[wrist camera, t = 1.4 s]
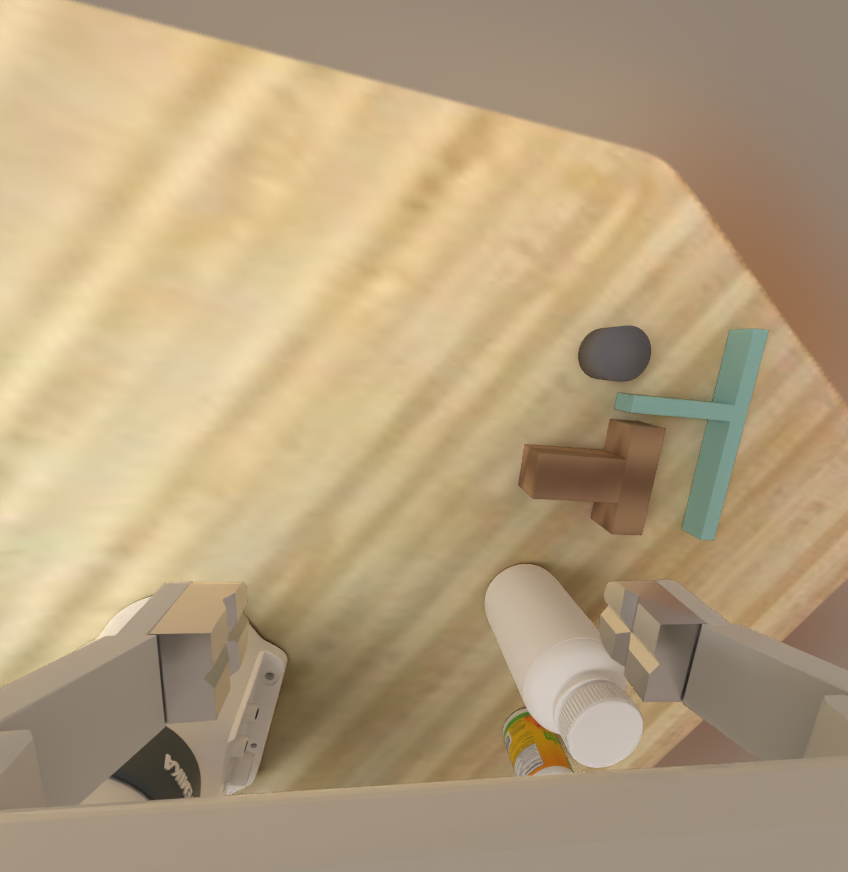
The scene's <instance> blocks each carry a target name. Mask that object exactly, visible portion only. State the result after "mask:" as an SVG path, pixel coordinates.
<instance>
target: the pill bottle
mask: <svg viewBox="0 0 848 872" xmlns="http://www.w3.org/2000/svg"><path fill="white" fill-rule="evenodd" d="M484 606H485V612H486V616H487V619H488V622H489V624H490V626H491V628H492V631H493V633H494V635H495V638H496V640H497V642H498V644H499V647H500V649H501V651H502V654H503V656H504V658H505V660H506V663H507V665H508V667H509V670H510V672H511V674H512V676H513V679H514V681H515V683H516V686H517V688H518V690H519V692H520V695H521V697H522V699H523V702H524V704H525V706H526V708H527V710H528V711H529V713H530V714H531V716H532V717H533V718H534V719H535V720H536V721H537V722H538V723H539V724H540V725H541V726H543V727H544V728H545V729H547V730H549V731H551V732H553V733H556V734H560V735H561V737H562V739H563V741H564V743H565V745H566V747H567V749H568V751H569V753H570V754H571V756H572V757H573V758H574V759H575V760H576V761H577V762H579V763H581V764H582V765H585V766H587V767H592V768H602V767H608V766H611V765H614V764H616V763H618V762H620V761H622V760H623V759H624V758H626V757H627V756H628V755H629V754H630V753H631V752H632V751H633V750H634V749H635V748H636V746H637V745H638V743H639V741H640V739H641V736H642V732H643V719H642V716H641V713H640V711H639V709H638V708H637V706H636V705H635V704H634V702H633V701H632V700H631V699H630V697H629V696H628V695H627V693H626V678H625V676H624V667H623V666H622V665H621V664H619V663H617V662H616V661H614V660H613V659H611V657H610V656H609V654H608V653H607V652H606V650H605V648H604V646H603V644H602V641H601V638H600V632H599V630H598V629H597V628H596V627H595V626H594V624H593V623H592V622H591V621H590V619H589V618H588V617H587V616H586V615H585V613H584V612H583V611H582V610H581V609H580V607H579V606H578V605H577V604H576V603H575V601H574V600H573V599H572V598H571V597H570V595H569V594H568V593H567V592H566V590H565V589H564V588H563V587H562V586H561V584H560V583H559V582H558V581H557V580H556V578H555V577H554V576H553V575H552V574H550V573H549V572H548V571H547V570H545V569H544V568H542V567H539V566H537V565H532V564H519V565H514V566H511V567H509V568H507V569H505V570H503V571H502V572H500V573H499V574H498V575H497V576H496V577H495V578H494V579H493V580H492V582H491V583H490V585H489V587H488V589H487V591H486V595H485V601H484Z"/></svg>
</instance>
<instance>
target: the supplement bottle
mask: <svg viewBox="0 0 848 872" xmlns="http://www.w3.org/2000/svg"><path fill="white" fill-rule="evenodd" d="M503 738H504V741H505V745H506V748H507V751H508V754H509V756H510V759H511V762H512V765H513V768H514V771H515V774H516V777H518V776H533V775H549V774H564V773H574V772H573V769H572V767H571V765H570V763H569V761H568V759H567V757H566V755H565V753H564V751H563V749H562V746H561V744H560V742H559V740H558V738H557V736H556V734H555V733H553V732H551V731H549V730H547V729H545V728H544V727H543V726H541V725H540V724H539V723H538V722H537V721H536V720H535V719H534V718H533V717H532V716H531V714H530V713H529V711H528V710H527V708H524V709H520V710H518V711H516V712H515V713H513V714H512V715H511V716H510V717H509V718H508V719H507V721H506V722H505V724H504V727H503Z"/></svg>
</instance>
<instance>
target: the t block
mask: <svg viewBox="0 0 848 872" xmlns="http://www.w3.org/2000/svg"><path fill="white" fill-rule="evenodd" d="M665 429H666V428H662V427H658V426H654V425H650V424H647V423H643V422H639V421H627V420H615V419H610V421H609V426H608V431H607V436H606V441H605V446H604V450H599V449H585V448H571V447H557V446H543V445H528V444H524V451H523V458H522V464H521V471H520V477H519V484H518V485H519V486H520V487H521V488H522V489H523V490H524V491H525V492H526V493H527V494H529V495H530V496H531V497H532V498H533V499H550V500H570V501H590V502H594V503H593V509H592V514H591V519H592V520H594V521H595V522H596V523H598V524H599V525H600V526H602V527H603V528H604V529H606V530H607V531H608V532H610V533H611V534H621V535H642V532H643V528H644V523H645V519H646V514H647V510H648V505H649V501H650V496H651V492H652V487H653V483H654V478H655V474H656V469H657V465H658V460H659V456H660V451H661V447H662V442H663V438H664V433H665Z"/></svg>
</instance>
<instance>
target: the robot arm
mask: <svg viewBox="0 0 848 872" xmlns="http://www.w3.org/2000/svg"><path fill="white" fill-rule="evenodd" d="M604 599H605V601H606V603H607V604H608V606H607V608H606V609H605V610H604V611H603V612H602V613H601V614H600V621H599V632H600V638H601V641H602V644H603V646H604V648H605V650H606V652H607V653H608V654H609V656H610V657H611V659H613V660H614V661H616V662H617V663H619V664H621V665H622V666H624V676H625V678H626V679H627V680H628V682H629V683H630V684H631V686H632V687H633V688H634V690H635V691H636V692H637V694H638V695H639V697H640V698H641V699H642V701H643V702H683V704H684V705H685V706H686V707H688V708H689V709H690V710H692V711H693V712H694V713H696V714H697V715H698V716H700V717H701V718H703V719H704V720H705V721H707V722H708V723H709V724H711V725H712V726H713V727H715V728H716V729H717V730H719V731H720V732H722V733H723V734H724V735H726V736H727V737H728V738H730V739H731V740H732V741H734V742H735V743H736V744H738V745H739V746H740V747H742V748H743V749H744V750H746V751H747V752H749V753H750V754H751V755H753V756H754V757H755V758H757V759H758V760H759V761H756V762H742V763H728V764H711V765H694V766H678V767H661V768H645V769H628V770H612V771H596V772H579V773H564V774H549V775H533V776H518V777H503V778H488V779H472V780H457V781H442V782H426V783H411V784H396V785H380V786H365V787H349V788H334V789H318V790H303V791H287V792H272V793H256V794H241V795H229V794H231V793H234V792H237V791H239V790H241V789H243V788H245V787H247V786H249V785H250V784H252V783H253V781H254V780H255V777H256V775H257V772H258V769H259V766H260V762H261V759H262V755H263V751H264V748H265V744H266V740H267V736H268V733H269V729H270V725H271V722H272V718H273V714H274V710H275V707H276V703H277V699H278V696H279V692H280V688H281V684H282V681H283V677H284V673H285V670H286V666H287V661H288V658H287V655H286V654H285V653H284V652H283V651H282V650H281V649H279V648H278V647H276V646H275V645H273V644H271V643H269V642H267V641H265V640H263V639H262V638H261V637H260V636H259V635H258V634H257V633H256V631H255V630H254V629H253V627H252V626H251V625H250V624H249V619H248V618H247V617H246V616H245V615H244V614H243V610H244V608H245V606H246V604H247V602H248V594H247V586H246V585H245V583H244V582H192V581H188V582H168V583H164V584H163V585H162V586H161V587H160V588H159V589H158V590H157V591H156V592H155V594H154V595H153V596H151V597H147V598H145V599H142V600H139V601H137V602H135V603H133V604H131V605H129V606H128V607H126V608H124V609H123V610H122V611H120V612H119V613H118V614H117V615H116V616H115V617H113V618H112V620H111V621H110V622H109V623H108V624H107V626H106V627H105V628H104V630H103V631H102V632H101V634H100V635H99V636H98V637H97V638H96V639H95V640H93V641H91V642H89V643H88V644H86V645H84V646H82V647H80V648H79V649H77V650H76V651H74V652H72V653H70V654H68V655H66V656H64V657H62V658H60V659H58V660H56V661H54V662H52V663H50V664H48V665H46V666H44V667H42V668H40V669H38V670H36V671H34V672H32V673H30V674H28V675H26V676H24V677H21V678H19V679H17V680H15V681H13V682H11V683H9V684H7V685H5V686H3V687H1V688H0V872H848V670H845V669H843V668H841V667H838V666H836V665H833V664H831V663H829V662H826V661H824V660H821V659H819V658H817V657H815V656H812V655H810V654H808V653H805V652H803V651H800V650H798V649H796V648H793V647H791V646H789V645H786V644H784V643H782V642H779V641H777V640H775V639H772V638H770V637H767V636H765V635H763V634H760V633H758V632H756V631H753V630H751V629H749V628H746V627H744V626H742V625H739V624H731V623H729V622H728V621H727V620H726V619H724V618H723V617H722V616H720V615H719V614H718V613H717V612H715V611H714V610H713V609H712V608H710V607H709V606H708V605H706V604H705V603H704V602H703V601H701V600H700V599H699V598H698V597H696V596H695V595H694V594H692V593H691V592H690V591H689V590H687V589H686V588H685V587H684V586H682V585H681V584H680V583H678V582H677V581H674V580H671V579H662V580H643V581H609V583H608V584H607V586H606V588H605V592H604ZM269 673H273V674H269Z"/></svg>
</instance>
